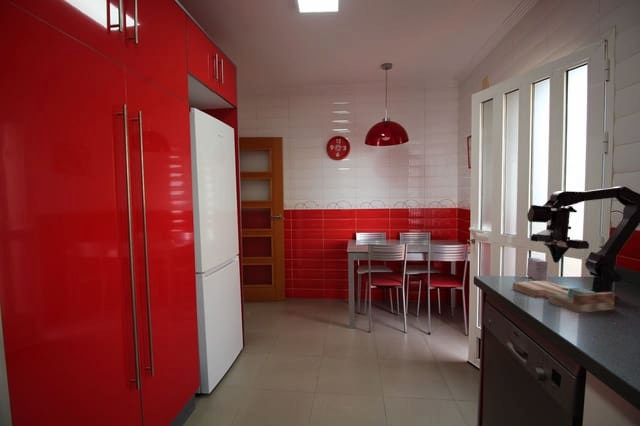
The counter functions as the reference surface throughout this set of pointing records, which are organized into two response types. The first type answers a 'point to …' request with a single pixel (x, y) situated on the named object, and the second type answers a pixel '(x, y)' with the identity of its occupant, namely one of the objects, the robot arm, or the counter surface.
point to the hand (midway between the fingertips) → (555, 262)
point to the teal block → (577, 292)
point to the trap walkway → (560, 296)
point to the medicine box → (537, 269)
